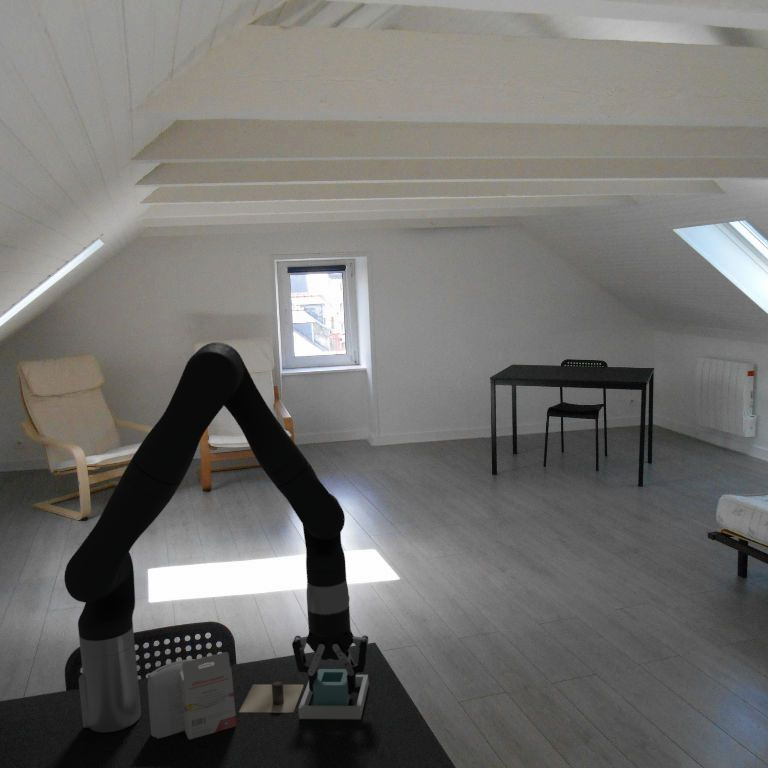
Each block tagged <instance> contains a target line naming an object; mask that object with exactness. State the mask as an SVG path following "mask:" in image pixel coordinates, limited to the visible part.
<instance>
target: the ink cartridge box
mask: <svg viewBox="0 0 768 768" xmlns="http://www.w3.org/2000/svg"><path fill="white" fill-rule="evenodd" d="M230 662H231V661H230V654H229V652H227V651H225V652H222V653H221V652H220V653H218V654H212V655H211V654H210V655H208V656H203V657H200V658H196V660H192V661H187V662H184V663H183V664H182V668H183V671H180V672H179V677H180V688H181V699H182V709H183V719H184V728H185V731H184V732H185V734H186V737H187V739H188V740H193V739H196V738H200V737H204V736H207V735H211V734H215V733H218V732H222V731H224V730H228V729H231V728H235V727H238V726H237V717H236V716H237V715H236V705H235V704H236V703H235V694H234V693H235V692H234V683H233V673H232V671H233V670H232V668H231V664H230Z"/></svg>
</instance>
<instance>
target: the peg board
mask: <svg viewBox="0 0 768 768" xmlns="http://www.w3.org/2000/svg"><path fill="white" fill-rule="evenodd" d="M304 686H305V685H304V684H283V682H282V681H274V682H273V683H271V684H258V683H257V684H255V683H254V684H252V686H251V688H250V689H249V691H248V693H247V696H246V698H245V699H244V701H243V703H242V705H241V707H240V709H239V711H238V713H252V714H253V713H257V714H258V713H262V714H263V713H268V714H269V713H275V714H276V713H280V714H283V713H286V714H288V713H289V714H292V713H294V712H295V709H296V706H297V704H298V701H299V699H300V696H301V694H302V692H303V688H304Z"/></svg>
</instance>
